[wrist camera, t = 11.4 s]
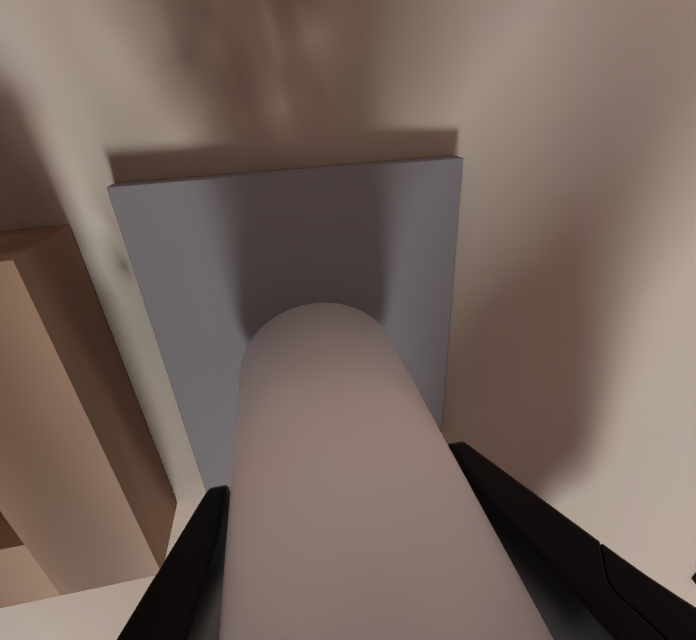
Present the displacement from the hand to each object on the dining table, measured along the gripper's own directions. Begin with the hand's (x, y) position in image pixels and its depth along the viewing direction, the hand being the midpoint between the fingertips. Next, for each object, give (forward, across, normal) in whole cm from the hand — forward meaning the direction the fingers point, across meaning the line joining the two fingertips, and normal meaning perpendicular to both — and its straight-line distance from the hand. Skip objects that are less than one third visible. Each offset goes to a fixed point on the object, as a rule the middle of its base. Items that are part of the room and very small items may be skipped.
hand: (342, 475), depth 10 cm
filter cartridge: (+4, 0, 0) cm, 4 cm away
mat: (+6, 0, 0) cm, 6 cm away
